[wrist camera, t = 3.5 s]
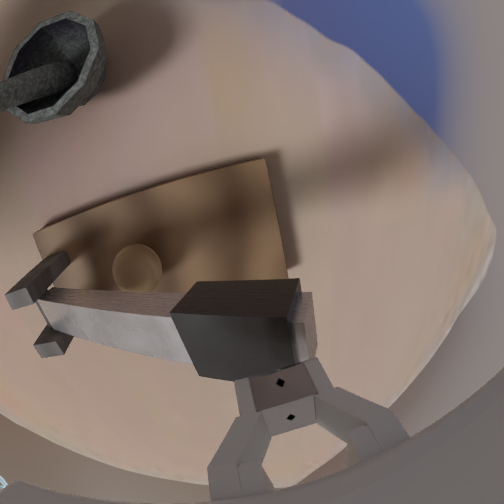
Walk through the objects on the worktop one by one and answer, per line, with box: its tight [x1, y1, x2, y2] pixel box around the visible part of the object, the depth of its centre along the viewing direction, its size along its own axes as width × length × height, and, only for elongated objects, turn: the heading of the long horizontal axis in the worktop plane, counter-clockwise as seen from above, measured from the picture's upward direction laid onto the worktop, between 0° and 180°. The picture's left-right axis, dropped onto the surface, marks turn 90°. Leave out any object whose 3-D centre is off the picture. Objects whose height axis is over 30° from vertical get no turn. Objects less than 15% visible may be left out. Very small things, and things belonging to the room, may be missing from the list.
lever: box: [37, 278, 318, 381], centre depth 15 cm, size 21×4×3 cm, turn 102°
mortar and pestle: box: [0, 11, 108, 124], centre depth 13 cm, size 11×9×12 cm
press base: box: [5, 158, 288, 358], centre depth 22 cm, size 24×12×10 cm, turn 103°
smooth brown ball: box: [112, 244, 162, 292], centre depth 22 cm, size 4×4×4 cm
